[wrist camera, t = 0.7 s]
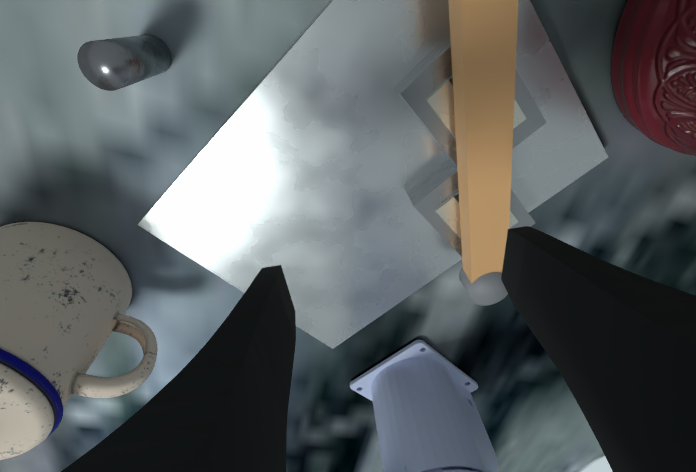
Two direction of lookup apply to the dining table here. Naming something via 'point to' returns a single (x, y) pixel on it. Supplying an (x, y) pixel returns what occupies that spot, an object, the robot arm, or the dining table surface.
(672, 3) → the canister
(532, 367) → the dining table surface
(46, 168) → the dining table surface
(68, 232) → the teacup with lid
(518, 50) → the base plate
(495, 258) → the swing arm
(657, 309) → the robot arm
